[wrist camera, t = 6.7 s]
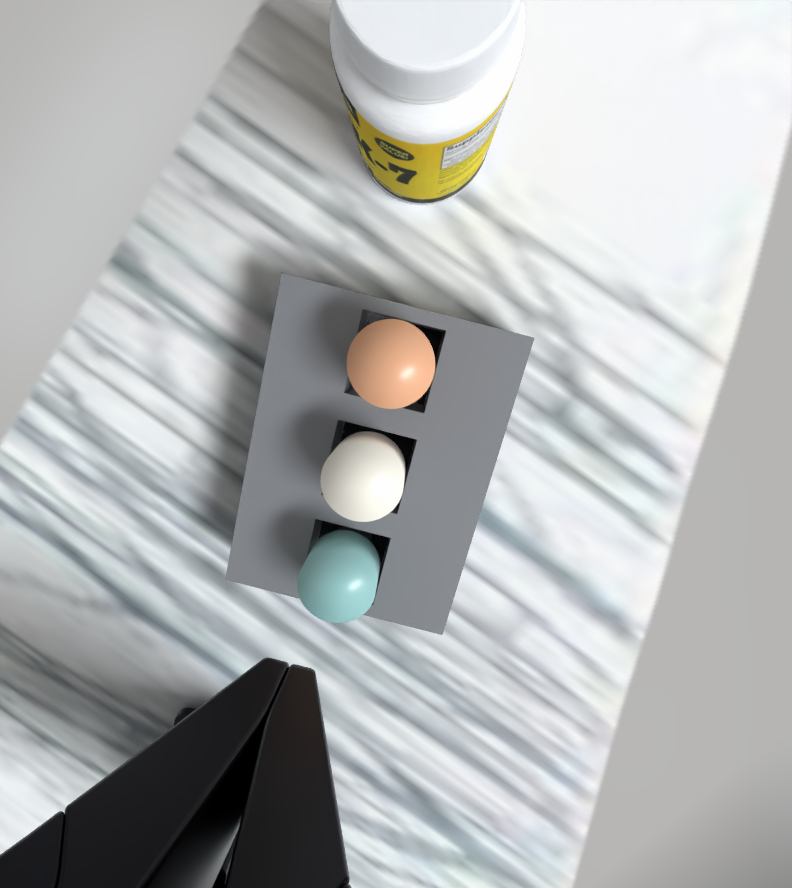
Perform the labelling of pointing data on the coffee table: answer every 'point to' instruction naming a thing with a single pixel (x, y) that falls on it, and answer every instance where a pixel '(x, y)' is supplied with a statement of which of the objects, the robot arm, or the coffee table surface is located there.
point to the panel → (335, 401)
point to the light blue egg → (340, 575)
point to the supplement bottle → (425, 86)
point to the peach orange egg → (390, 363)
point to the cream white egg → (364, 477)
